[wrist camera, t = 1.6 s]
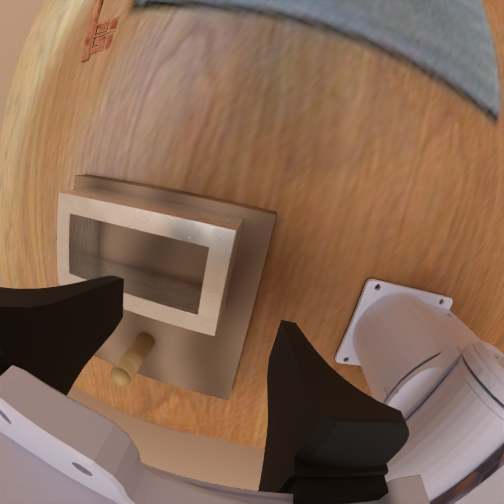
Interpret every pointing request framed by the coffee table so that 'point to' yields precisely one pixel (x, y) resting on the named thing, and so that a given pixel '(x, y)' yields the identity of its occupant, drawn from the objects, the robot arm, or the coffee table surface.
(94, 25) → the key
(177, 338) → the board
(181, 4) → the coffee table surface
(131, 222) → the cream hollow block
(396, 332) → the robot arm
